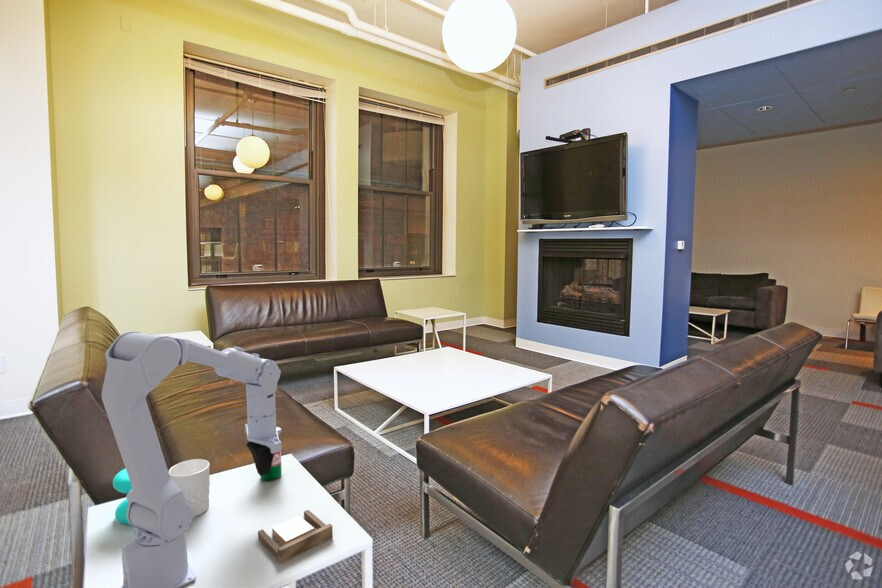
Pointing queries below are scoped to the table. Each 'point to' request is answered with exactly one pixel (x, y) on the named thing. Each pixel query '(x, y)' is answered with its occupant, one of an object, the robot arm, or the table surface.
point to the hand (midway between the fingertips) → (263, 473)
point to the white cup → (193, 482)
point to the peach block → (291, 530)
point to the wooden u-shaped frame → (301, 543)
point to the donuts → (124, 486)
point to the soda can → (274, 467)
